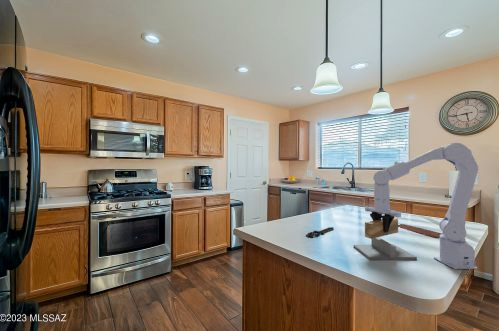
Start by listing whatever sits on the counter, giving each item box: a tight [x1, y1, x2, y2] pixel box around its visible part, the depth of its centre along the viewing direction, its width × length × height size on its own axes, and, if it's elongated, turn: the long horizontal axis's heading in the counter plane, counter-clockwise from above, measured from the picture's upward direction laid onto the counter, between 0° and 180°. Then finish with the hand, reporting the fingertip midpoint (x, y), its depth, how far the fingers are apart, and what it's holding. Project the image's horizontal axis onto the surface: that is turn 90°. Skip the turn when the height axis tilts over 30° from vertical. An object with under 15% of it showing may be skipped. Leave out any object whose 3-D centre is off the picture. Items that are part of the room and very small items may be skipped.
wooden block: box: [364, 217, 399, 240], centre depth 97 cm, size 3×18×6 cm, turn 116°
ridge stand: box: [353, 237, 418, 261], centre depth 95 cm, size 14×18×5 cm
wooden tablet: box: [398, 223, 443, 239], centre depth 127 cm, size 27×10×2 cm, turn 15°
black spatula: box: [305, 226, 335, 239], centre depth 125 cm, size 25×6×1 cm, turn 127°
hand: (382, 231), depth 97 cm, fingers closed on wooden block, 3 cm apart
